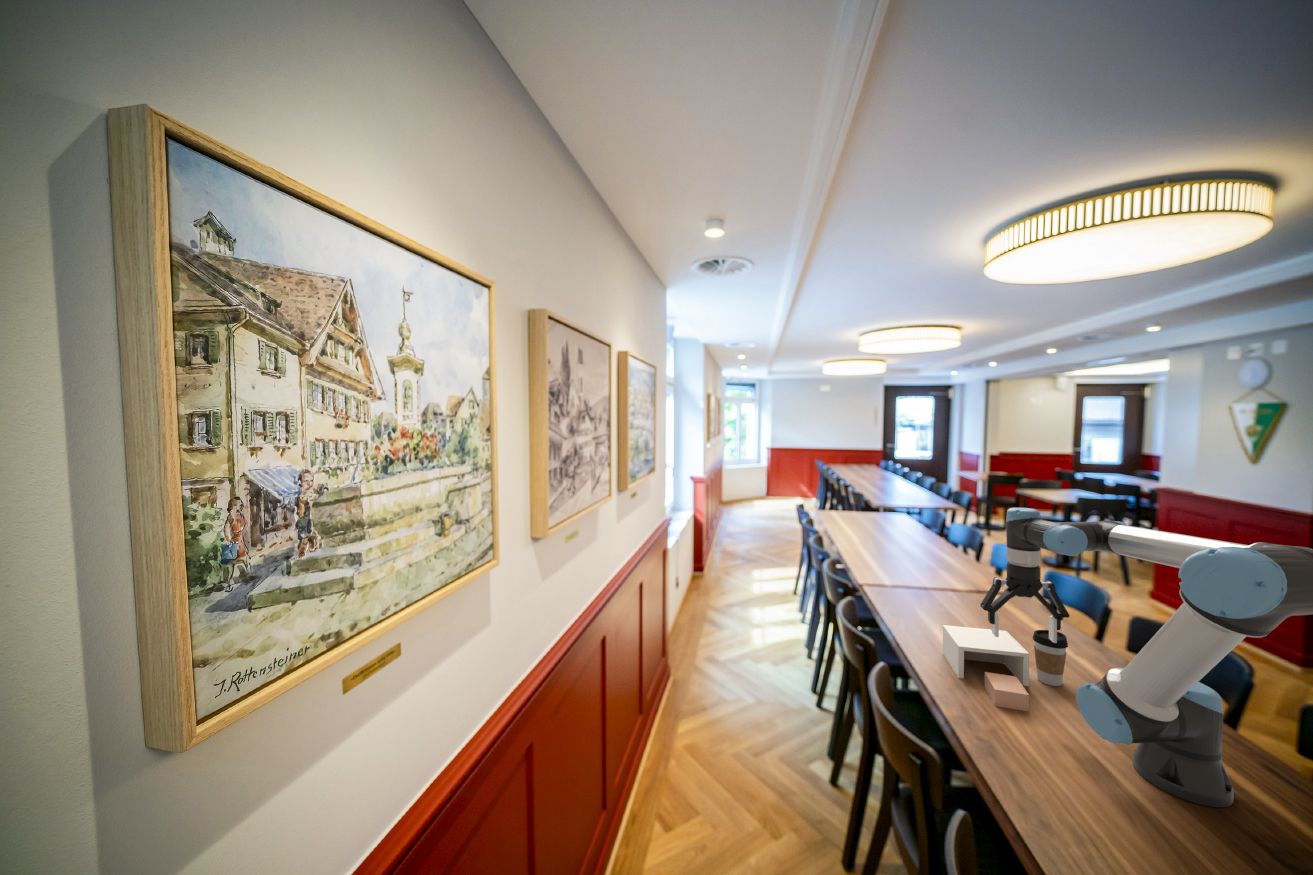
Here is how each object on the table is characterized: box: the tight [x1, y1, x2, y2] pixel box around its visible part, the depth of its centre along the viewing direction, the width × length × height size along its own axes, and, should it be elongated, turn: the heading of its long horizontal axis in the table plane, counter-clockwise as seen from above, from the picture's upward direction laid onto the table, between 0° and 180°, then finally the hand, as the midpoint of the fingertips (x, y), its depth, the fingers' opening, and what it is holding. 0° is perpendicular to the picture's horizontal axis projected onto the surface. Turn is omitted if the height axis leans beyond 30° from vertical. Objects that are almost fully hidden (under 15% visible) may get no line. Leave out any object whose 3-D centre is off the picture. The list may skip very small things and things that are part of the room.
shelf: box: [942, 624, 1030, 687], centre depth 153 cm, size 16×19×10 cm
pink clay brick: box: [984, 671, 1030, 712], centre depth 137 cm, size 10×8×5 cm
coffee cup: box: [1032, 629, 1069, 687], centre depth 146 cm, size 8×8×15 cm
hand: (1023, 637), depth 132 cm, fingers open, 13 cm apart
